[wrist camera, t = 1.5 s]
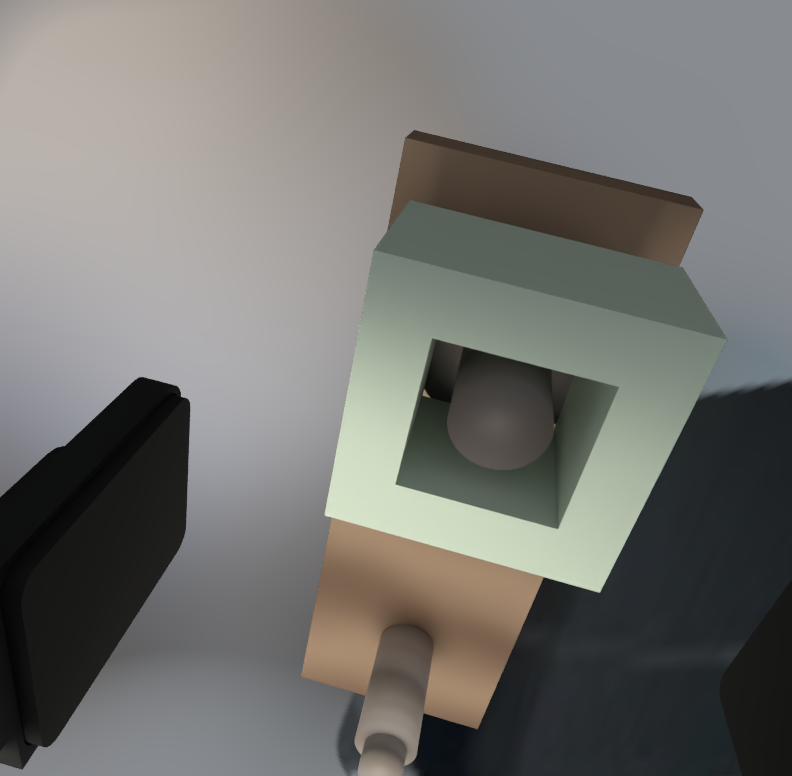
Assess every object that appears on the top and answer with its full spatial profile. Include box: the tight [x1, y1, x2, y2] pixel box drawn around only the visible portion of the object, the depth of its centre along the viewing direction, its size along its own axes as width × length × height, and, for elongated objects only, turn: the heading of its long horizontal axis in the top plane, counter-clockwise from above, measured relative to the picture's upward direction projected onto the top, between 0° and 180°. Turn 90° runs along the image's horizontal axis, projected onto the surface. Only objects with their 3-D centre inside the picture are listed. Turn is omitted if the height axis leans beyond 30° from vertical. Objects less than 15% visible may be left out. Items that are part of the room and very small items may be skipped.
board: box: [301, 130, 703, 776], centre depth 21 cm, size 23×8×8 cm, turn 169°
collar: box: [325, 200, 727, 593], centre depth 15 cm, size 6×6×4 cm
